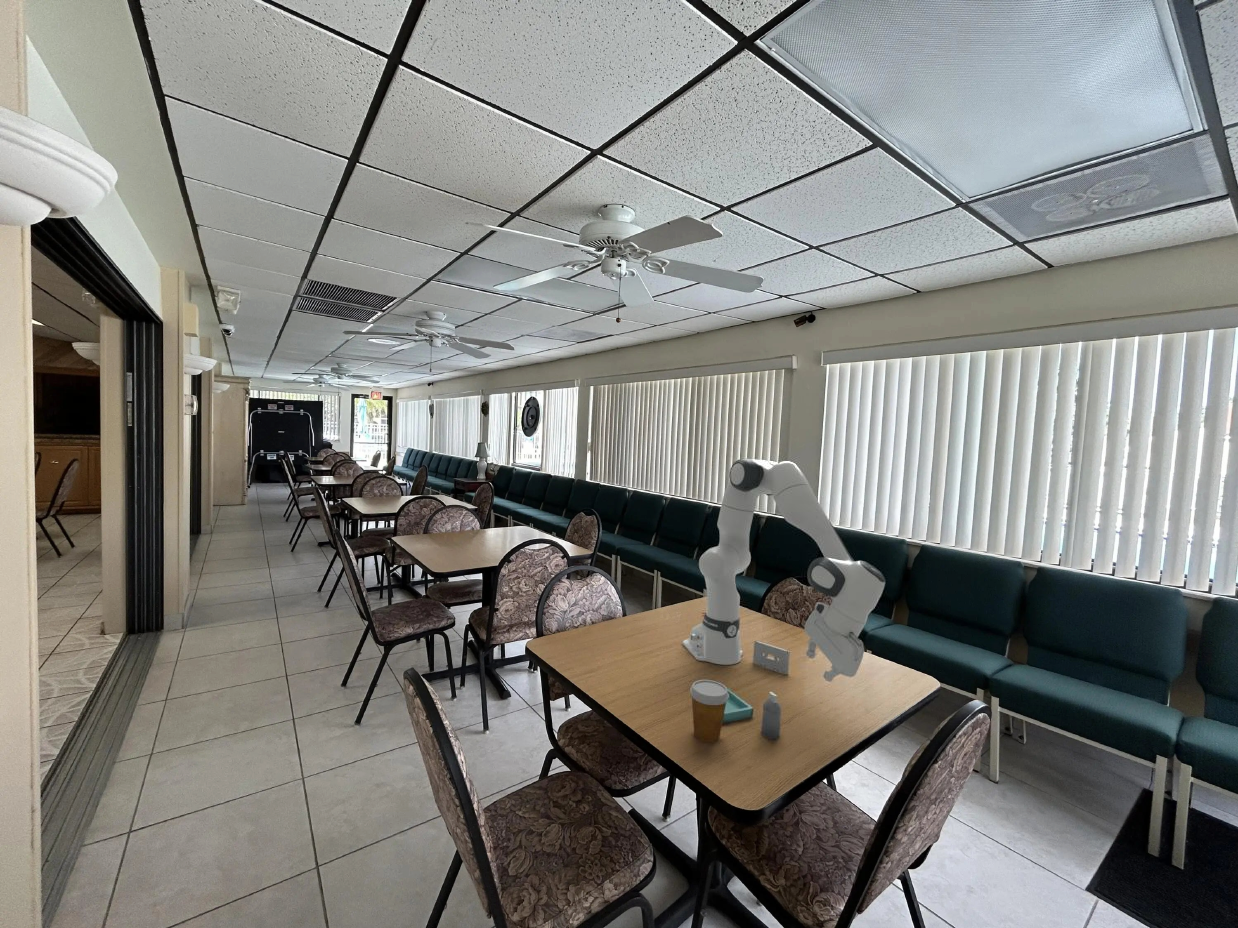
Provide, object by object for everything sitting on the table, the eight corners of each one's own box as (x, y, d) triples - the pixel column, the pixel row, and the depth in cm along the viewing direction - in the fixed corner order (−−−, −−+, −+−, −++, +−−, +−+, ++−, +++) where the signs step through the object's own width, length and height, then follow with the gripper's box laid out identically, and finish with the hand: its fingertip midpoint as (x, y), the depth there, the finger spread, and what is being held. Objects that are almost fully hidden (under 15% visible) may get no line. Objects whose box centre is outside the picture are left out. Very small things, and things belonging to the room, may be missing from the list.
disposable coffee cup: (720, 725, 129) (723, 679, 129) (730, 747, 120) (733, 697, 119) (684, 723, 129) (687, 677, 128) (691, 745, 119) (694, 696, 119)
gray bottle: (757, 730, 127) (760, 691, 127) (771, 727, 129) (773, 688, 129) (769, 740, 123) (772, 699, 123) (783, 736, 125) (785, 696, 125)
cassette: (752, 663, 169) (753, 641, 169) (754, 662, 170) (755, 639, 170) (786, 675, 161) (788, 652, 161) (788, 673, 163) (790, 650, 162)
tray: (696, 701, 141) (697, 692, 141) (725, 695, 145) (726, 687, 145) (722, 723, 130) (722, 714, 130) (752, 716, 134) (753, 708, 134)
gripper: (877, 650, 118) (849, 698, 120) (833, 606, 137) (809, 648, 140) (855, 642, 116) (827, 690, 119) (813, 599, 136) (790, 641, 139)
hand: (817, 667), depth 129 cm, fingers open, 8 cm apart
